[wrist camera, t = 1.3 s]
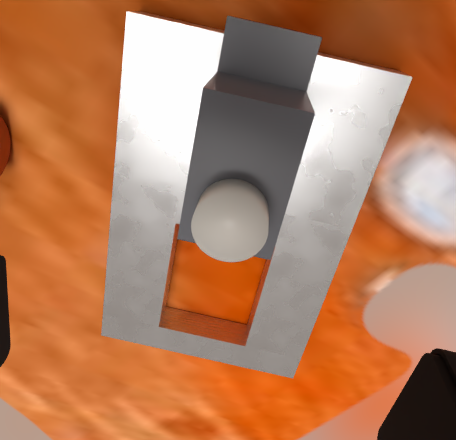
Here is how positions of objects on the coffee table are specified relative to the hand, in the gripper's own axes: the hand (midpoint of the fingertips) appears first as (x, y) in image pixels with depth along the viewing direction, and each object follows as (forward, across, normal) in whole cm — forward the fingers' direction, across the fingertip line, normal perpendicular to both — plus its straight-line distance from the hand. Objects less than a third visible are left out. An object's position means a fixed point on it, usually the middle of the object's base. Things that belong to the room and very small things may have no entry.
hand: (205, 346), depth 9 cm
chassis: (+20, 0, +7) cm, 21 cm away
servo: (+18, 0, 0) cm, 18 cm away
